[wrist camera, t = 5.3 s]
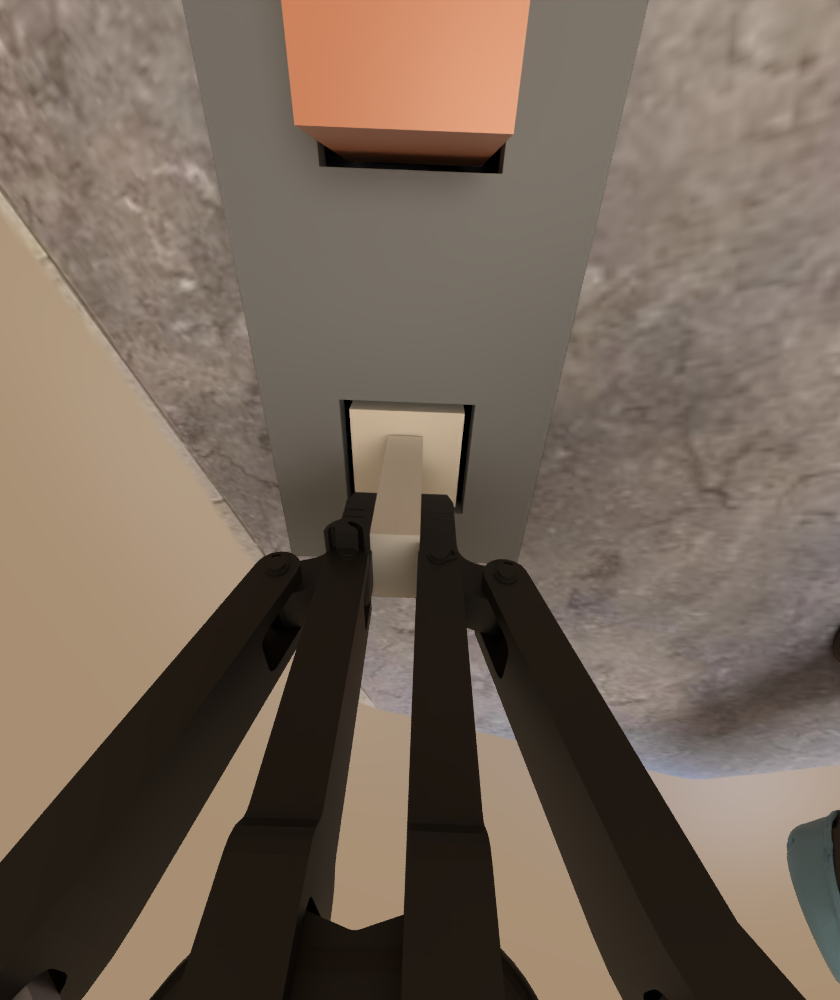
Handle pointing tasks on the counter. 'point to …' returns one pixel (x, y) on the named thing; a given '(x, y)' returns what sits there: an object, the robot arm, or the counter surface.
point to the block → (413, 260)
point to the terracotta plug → (406, 76)
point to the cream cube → (407, 419)
